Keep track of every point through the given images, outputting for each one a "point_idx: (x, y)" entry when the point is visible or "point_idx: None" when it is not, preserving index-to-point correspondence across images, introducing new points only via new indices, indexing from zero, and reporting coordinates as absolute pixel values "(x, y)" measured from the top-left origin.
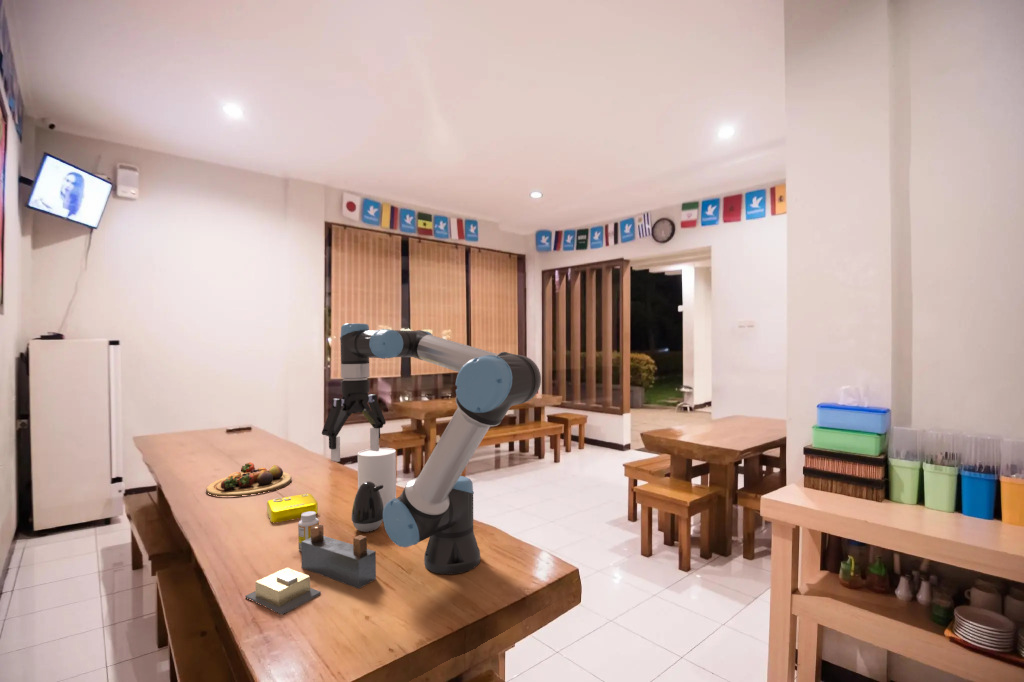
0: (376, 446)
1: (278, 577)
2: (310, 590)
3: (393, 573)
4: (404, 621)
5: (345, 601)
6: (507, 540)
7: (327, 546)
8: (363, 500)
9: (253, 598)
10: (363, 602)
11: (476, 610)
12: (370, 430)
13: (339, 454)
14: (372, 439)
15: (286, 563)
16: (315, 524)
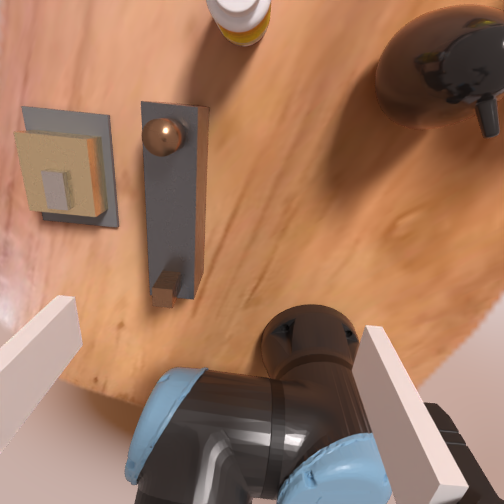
0: (360, 392)
1: (42, 176)
2: (109, 208)
3: (232, 285)
4: (141, 365)
5: (129, 275)
6: (415, 381)
7: (157, 192)
8: (416, 87)
9: None
10: (142, 299)
11: None
12: (426, 459)
13: (55, 374)
14: (386, 401)
15: (157, 40)
16: (238, 32)
